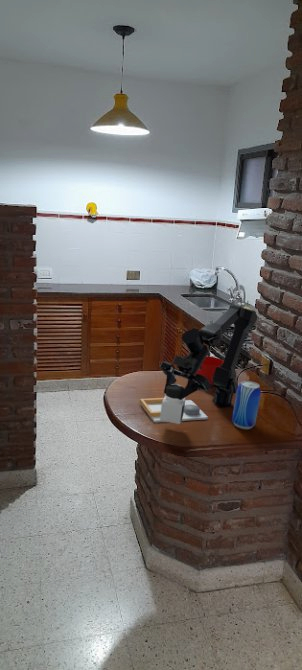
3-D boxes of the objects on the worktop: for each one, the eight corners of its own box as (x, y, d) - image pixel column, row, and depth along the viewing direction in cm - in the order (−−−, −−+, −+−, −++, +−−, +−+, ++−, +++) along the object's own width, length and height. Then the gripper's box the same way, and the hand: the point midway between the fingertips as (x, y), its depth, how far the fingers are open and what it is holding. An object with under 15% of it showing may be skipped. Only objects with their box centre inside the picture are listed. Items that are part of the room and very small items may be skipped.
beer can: (249, 432, 174) (257, 391, 169) (227, 424, 178) (234, 384, 173) (257, 424, 181) (265, 384, 176) (236, 417, 185) (243, 377, 180)
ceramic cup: (181, 376, 220) (183, 355, 218) (216, 377, 224) (220, 356, 221) (188, 387, 208) (191, 365, 205) (226, 388, 212) (229, 367, 209)
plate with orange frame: (190, 401, 194) (191, 396, 193) (207, 419, 181) (208, 413, 180) (139, 404, 186) (140, 398, 186) (152, 422, 173) (153, 416, 172)
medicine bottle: (180, 424, 165) (184, 391, 162) (159, 420, 166) (163, 388, 163) (183, 415, 172) (187, 384, 168) (163, 412, 173) (167, 380, 170)
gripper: (165, 339, 170) (141, 375, 165) (210, 354, 159) (186, 394, 154) (176, 356, 179) (154, 391, 173) (220, 371, 167) (197, 410, 162)
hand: (172, 396), depth 166 cm, fingers closed on medicine bottle, 6 cm apart
